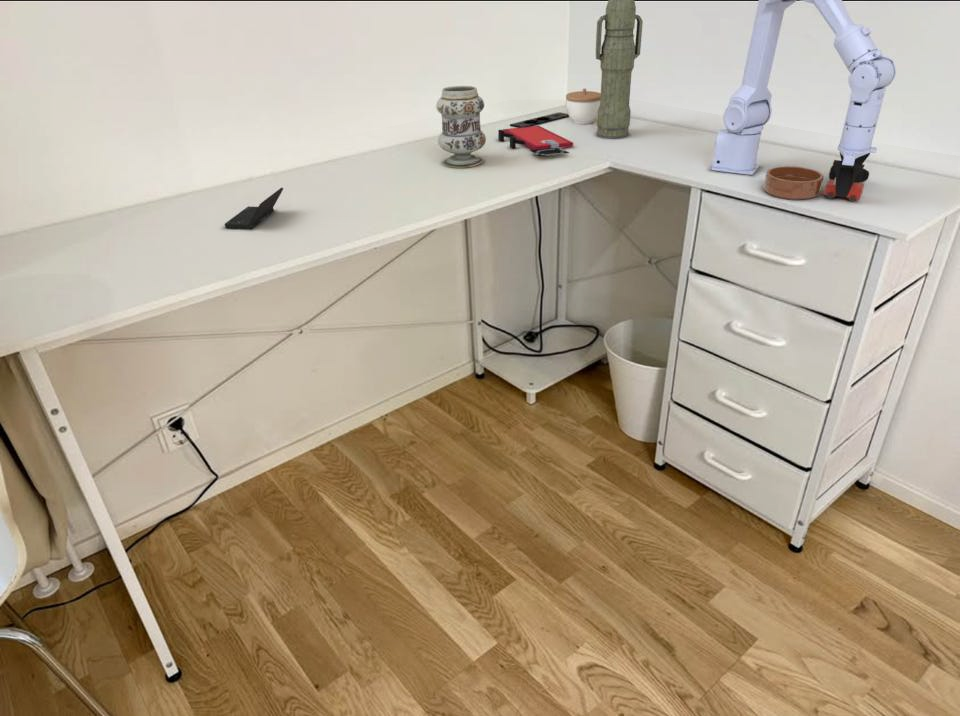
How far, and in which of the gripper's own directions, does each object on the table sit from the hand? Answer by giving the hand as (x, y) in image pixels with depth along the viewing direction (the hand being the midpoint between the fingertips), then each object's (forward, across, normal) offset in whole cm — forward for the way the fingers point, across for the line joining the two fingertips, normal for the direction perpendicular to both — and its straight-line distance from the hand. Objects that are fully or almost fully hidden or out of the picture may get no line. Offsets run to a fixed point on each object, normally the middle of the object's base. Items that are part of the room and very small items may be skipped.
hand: (843, 190), depth 146 cm
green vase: (+2, +29, +63) cm, 69 cm away
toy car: (+1, 0, 0) cm, 1 cm away
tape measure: (+2, +11, +1) cm, 11 cm away
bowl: (+1, -1, +10) cm, 10 cm away
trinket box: (+2, +40, +77) cm, 87 cm away
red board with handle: (+2, +11, +78) cm, 79 cm away
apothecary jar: (+2, -12, +87) cm, 88 cm away
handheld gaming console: (+2, -66, +104) cm, 123 cm away
